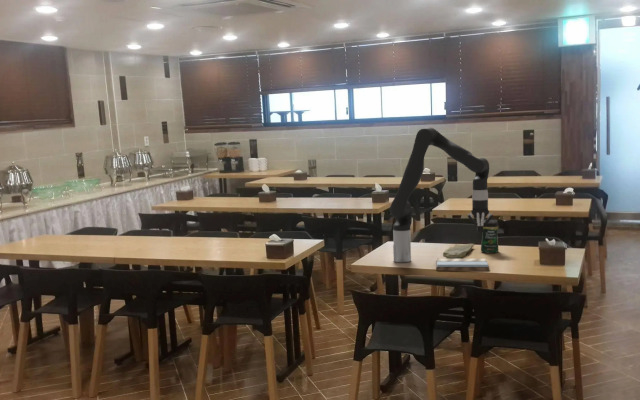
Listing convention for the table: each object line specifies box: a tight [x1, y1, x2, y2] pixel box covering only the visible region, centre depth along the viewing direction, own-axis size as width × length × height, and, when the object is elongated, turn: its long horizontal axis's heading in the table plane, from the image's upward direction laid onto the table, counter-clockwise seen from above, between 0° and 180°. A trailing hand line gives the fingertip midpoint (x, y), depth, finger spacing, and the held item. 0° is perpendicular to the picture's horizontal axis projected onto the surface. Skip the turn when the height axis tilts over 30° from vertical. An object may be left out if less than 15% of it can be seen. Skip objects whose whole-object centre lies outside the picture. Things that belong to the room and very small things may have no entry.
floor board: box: [435, 258, 490, 272], centre depth 316 cm, size 26×16×3 cm, turn 80°
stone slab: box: [442, 243, 475, 259], centre depth 349 cm, size 12×4×30 cm
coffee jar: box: [480, 219, 500, 254], centre depth 347 cm, size 10×8×19 cm
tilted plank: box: [436, 260, 489, 267], centre depth 313 cm, size 25×8×1 cm, turn 80°
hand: (480, 233), depth 307 cm, fingers closed
